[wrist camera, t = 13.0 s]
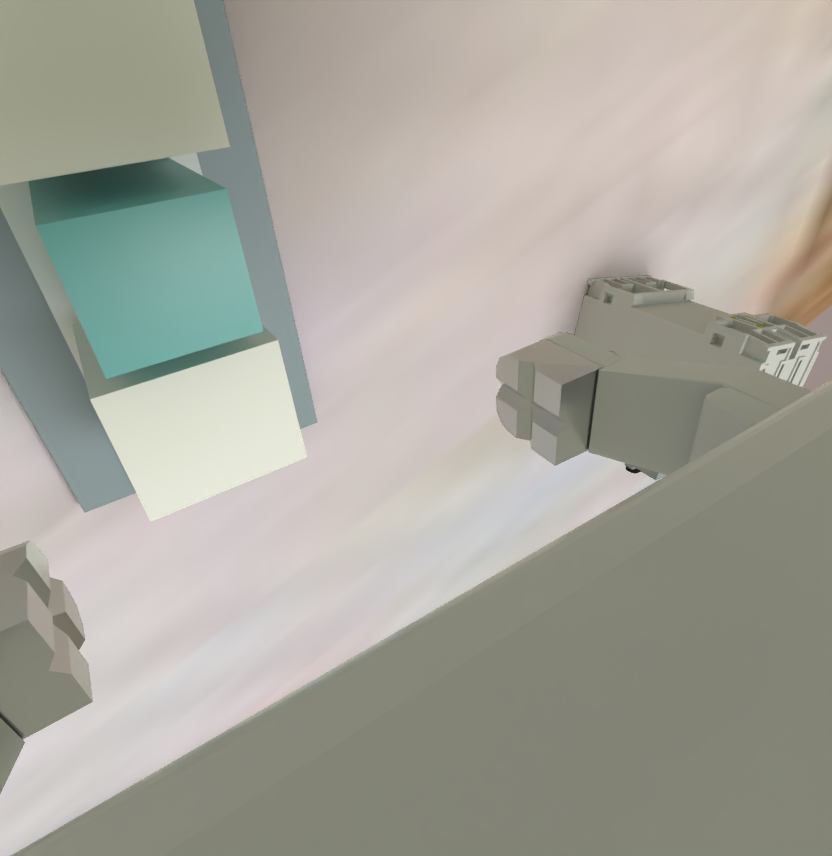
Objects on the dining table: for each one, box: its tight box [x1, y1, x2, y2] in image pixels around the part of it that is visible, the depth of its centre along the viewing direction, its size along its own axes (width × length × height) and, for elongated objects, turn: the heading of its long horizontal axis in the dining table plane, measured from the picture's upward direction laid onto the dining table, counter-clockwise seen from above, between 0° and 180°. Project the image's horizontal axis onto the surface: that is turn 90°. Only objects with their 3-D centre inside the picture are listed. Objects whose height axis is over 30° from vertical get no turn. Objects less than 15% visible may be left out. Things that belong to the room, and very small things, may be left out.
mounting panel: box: [0, 0, 317, 521], centre depth 23 cm, size 28×14×10 cm, turn 5°
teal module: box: [28, 158, 263, 379], centre depth 21 cm, size 5×6×9 cm
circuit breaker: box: [574, 275, 826, 480], centre depth 45 cm, size 8×14×15 cm, turn 173°
